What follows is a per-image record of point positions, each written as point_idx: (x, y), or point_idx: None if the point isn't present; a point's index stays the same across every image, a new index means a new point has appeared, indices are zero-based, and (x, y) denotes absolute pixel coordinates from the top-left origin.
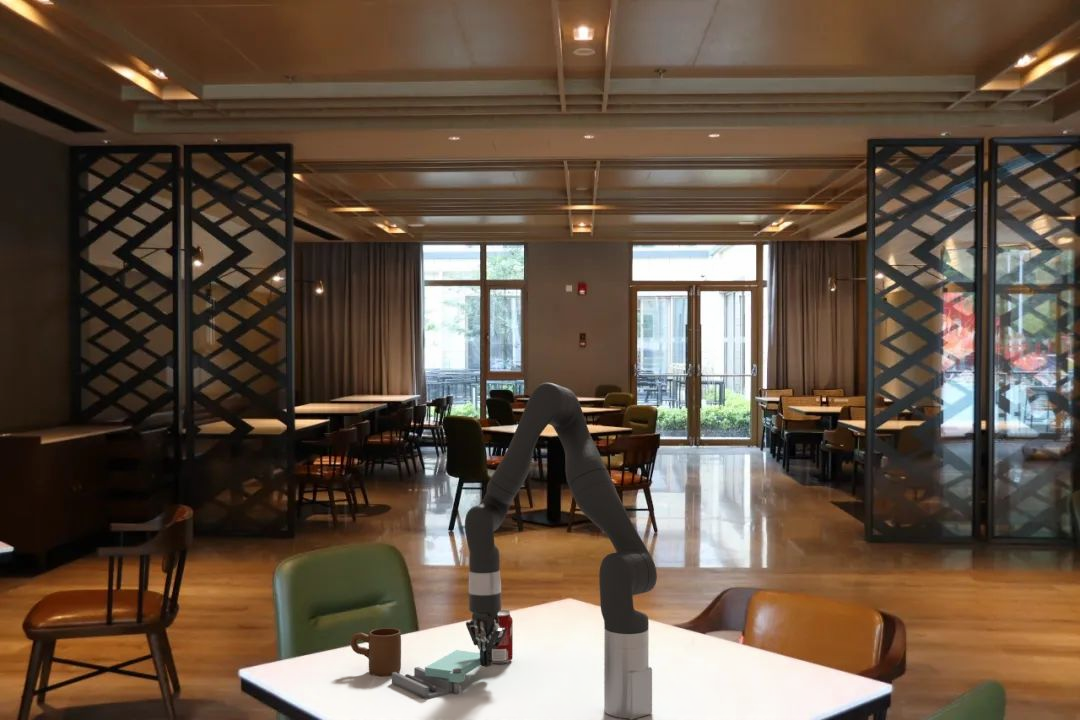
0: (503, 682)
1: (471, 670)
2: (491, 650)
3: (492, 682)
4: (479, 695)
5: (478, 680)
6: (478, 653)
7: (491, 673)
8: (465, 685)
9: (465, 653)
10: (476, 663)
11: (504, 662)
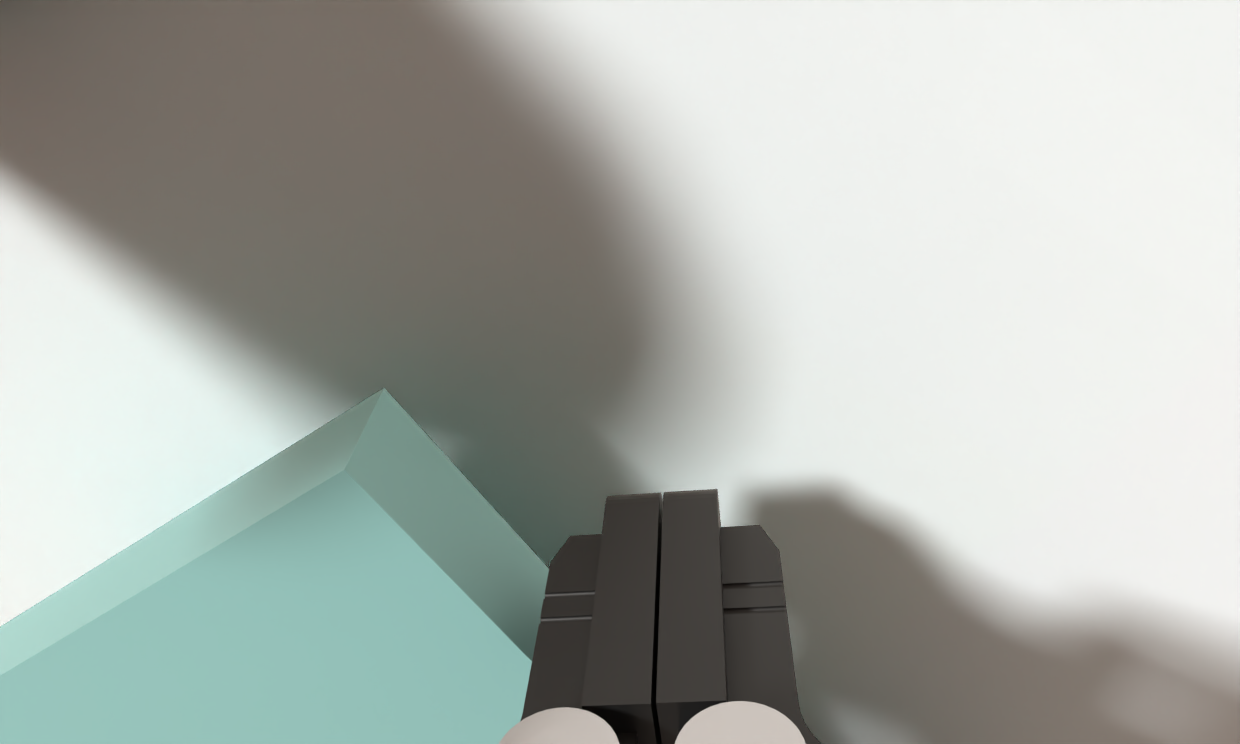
0: (960, 309)
1: None
2: (810, 741)
3: (853, 426)
4: (1135, 729)
5: None
6: (249, 564)
7: (473, 240)
8: None
9: (169, 714)
10: None
11: None
